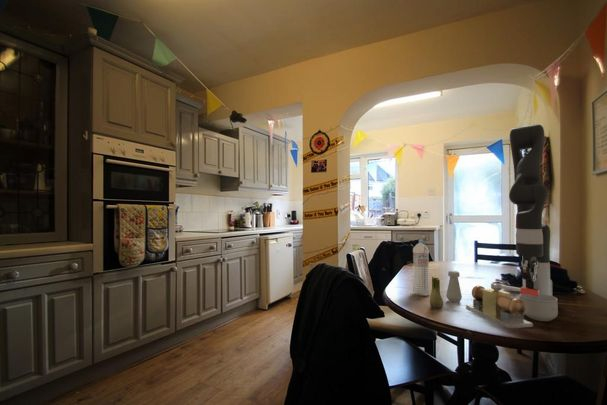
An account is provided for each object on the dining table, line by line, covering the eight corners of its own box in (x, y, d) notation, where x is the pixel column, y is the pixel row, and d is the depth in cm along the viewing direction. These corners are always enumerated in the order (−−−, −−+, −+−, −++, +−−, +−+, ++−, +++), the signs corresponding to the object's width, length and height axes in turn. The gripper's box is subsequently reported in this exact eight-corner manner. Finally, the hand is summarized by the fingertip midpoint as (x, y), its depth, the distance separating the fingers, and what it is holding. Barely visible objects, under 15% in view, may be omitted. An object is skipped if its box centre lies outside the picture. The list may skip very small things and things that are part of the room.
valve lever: (489, 288, 106) (489, 282, 106) (492, 287, 108) (492, 281, 108) (537, 297, 96) (537, 290, 96) (539, 295, 98) (539, 289, 98)
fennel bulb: (430, 304, 119) (430, 275, 119) (444, 306, 116) (443, 276, 117) (428, 308, 114) (428, 278, 114) (442, 310, 111) (442, 279, 112)
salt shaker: (463, 304, 119) (463, 272, 120) (448, 303, 120) (448, 272, 121) (459, 300, 125) (458, 269, 125) (444, 299, 126) (444, 269, 127)
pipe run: (486, 307, 116) (486, 282, 116) (532, 326, 96) (532, 297, 97) (466, 308, 115) (466, 283, 115) (509, 328, 95) (508, 298, 95)
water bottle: (430, 293, 134) (429, 239, 135) (427, 297, 129) (427, 241, 129) (414, 291, 138) (414, 239, 139) (411, 294, 132) (411, 240, 133)
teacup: (561, 326, 97) (560, 302, 97) (521, 319, 103) (520, 297, 103) (552, 314, 109) (552, 292, 109) (517, 308, 115) (517, 288, 115)
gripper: (537, 244, 94) (538, 298, 94) (547, 240, 102) (549, 290, 102) (510, 242, 100) (511, 292, 100) (522, 239, 108) (523, 285, 108)
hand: (530, 291), depth 101 cm, fingers closed
